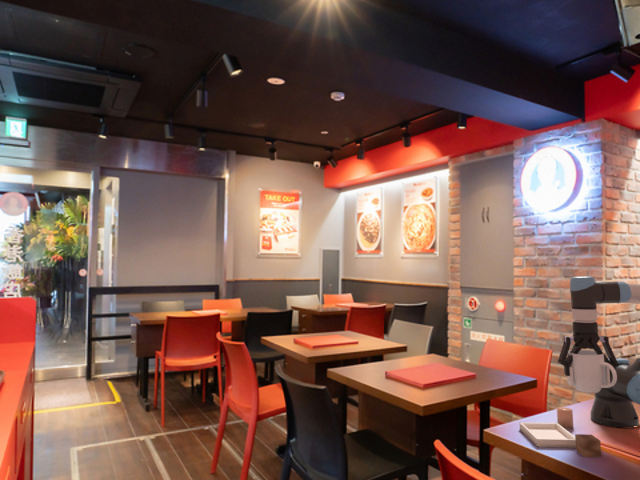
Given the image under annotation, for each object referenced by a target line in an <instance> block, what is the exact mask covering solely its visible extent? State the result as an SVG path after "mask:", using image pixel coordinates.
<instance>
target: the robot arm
mask: <svg viewBox="0 0 640 480" xmlns="http://www.w3.org/2000/svg"><path fill="white" fill-rule="evenodd" d="M569 293H570V304H571V319H572V320H573V321H572V332H573V333H572V336H568V335H564V336H563V344H562V347H561V349H560V353H559V357H558V359H557V363H558V364H559V365H562V366H563V369H564V370H563V371H564V373H563V374H564V376H566V377H567V378H566V379H567V386H569V387H573V388H575V386H574V384H573V367H571V366H570V365H571V363H572V362H573V355H570V356H569V355H568V356H567V354H568V351H569V350H571V352H570V353H572V354H578V352H579V351H580V350H593V351H595V352H596V353H597V354H598V355H601V354H604V362H606V363H609V364H610V365H612V366H613V368H614V369H615V371H616V374H617V381H616V383H615V385H614V386H612V387H609V388H601V390H600V391H599V392H598V393H594V400H593V404H592V407H591V409H590V419H591V421H593V422H595V423H597V424H600V425H603V426H608V427H612V428H619V427H634V426H638V425H639V426H640V418H639V416H638V412H637V411H636V408H635V406H634V404H633V402H634V403H636V404H637V405H640V357H639V356H638V357H637V358H636V359H635V360H634V361H633V362H632V363H630V360H629V359H627V358H619V357H618V358H616V355H615V353H614V351H613V349H612V347H611V345H610V341H609V340H610V338H609V336H606V335H600V336H599V325H598V322H597V321H598V311H597V310H598V309H597V304H632V305H633V304H636V305H640V283H630V282H629V283H627V282H625V281H618V280H615V281H605V280H604V281H603V280H602V281H597V280H595V277H593V276H572V277H571V278H570V280H569ZM599 341H600V343H601V345H602V347H603V349H604V351H605V353H606V354H605V353H604V351H602V349H601V347H600V346H599V345H598V343H599ZM573 342H574V344H573V345H572V349H570V347H571V343H573ZM612 380H613V375H612V372H611V370H610V368H609V367H607V366H605V377H604V383H603V385H609V384H611V383H612ZM639 426H638V427H639Z"/></svg>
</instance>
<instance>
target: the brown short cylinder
mask: <svg viewBox="0 0 640 480" xmlns="http://www.w3.org/2000/svg"><path fill="white" fill-rule="evenodd" d="M573 411H574V410H573V409H572V408H570V407H564V406H561V407H560V406H559V407H556V417H557V423H558V424H559V425H561V426H562V427H563V428H564V429H574V415H573V413H574V412H573Z"/></svg>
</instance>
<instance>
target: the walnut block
mask: <svg viewBox="0 0 640 480" xmlns="http://www.w3.org/2000/svg"><path fill="white" fill-rule="evenodd" d="M574 436H575V440H576V448H575V450H576V452H578V454H580V455H581V456H582V457H584V458H602V448H601V440H600V439H599V438H597V437H596V436H595V435H593V434H584V433H583V434H581V433H579V434H576V433H575V434H574Z"/></svg>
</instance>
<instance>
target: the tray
mask: <svg viewBox="0 0 640 480" xmlns="http://www.w3.org/2000/svg"><path fill="white" fill-rule="evenodd" d="M519 430H520V431H521V433H523V435H525V436H526V437H527V438H528V439H529V440H530V442H532V443H533V444H534V446H536V447H537V446H538V447H537V448H566V449H567V448H571V449H572V448H574V449H576V440H575V435H574V434H572V433H571V432H570V431H568V430H567V428H563V427H562V426H561V425H559V424H558V422H519Z"/></svg>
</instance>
